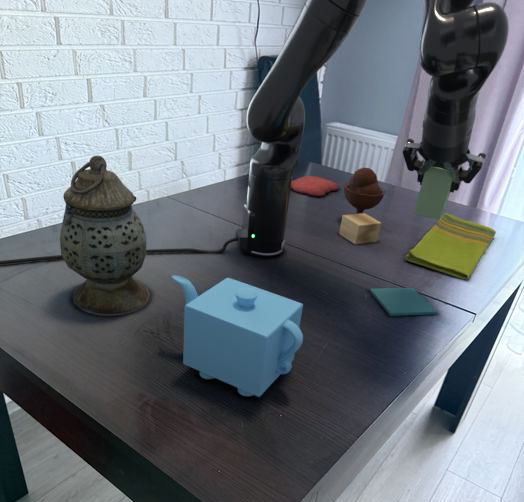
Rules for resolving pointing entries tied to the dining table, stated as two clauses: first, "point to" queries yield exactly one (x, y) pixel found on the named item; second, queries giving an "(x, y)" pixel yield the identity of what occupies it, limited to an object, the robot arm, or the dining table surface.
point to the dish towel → (452, 246)
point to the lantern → (103, 241)
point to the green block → (433, 193)
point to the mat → (402, 301)
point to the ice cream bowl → (363, 190)
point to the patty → (313, 186)
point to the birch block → (360, 228)
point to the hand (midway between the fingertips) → (438, 184)
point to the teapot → (240, 334)
